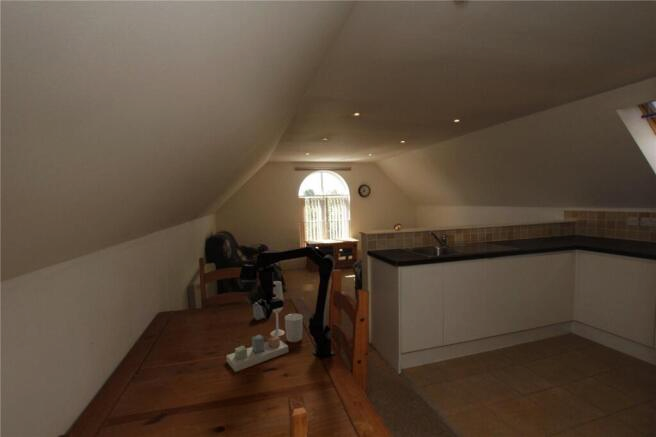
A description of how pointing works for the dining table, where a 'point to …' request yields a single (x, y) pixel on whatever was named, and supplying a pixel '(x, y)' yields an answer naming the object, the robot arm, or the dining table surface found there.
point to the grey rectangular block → (257, 343)
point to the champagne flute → (278, 295)
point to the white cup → (293, 327)
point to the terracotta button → (273, 341)
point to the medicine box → (258, 311)
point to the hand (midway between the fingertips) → (267, 319)
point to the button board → (256, 356)
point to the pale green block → (240, 353)
